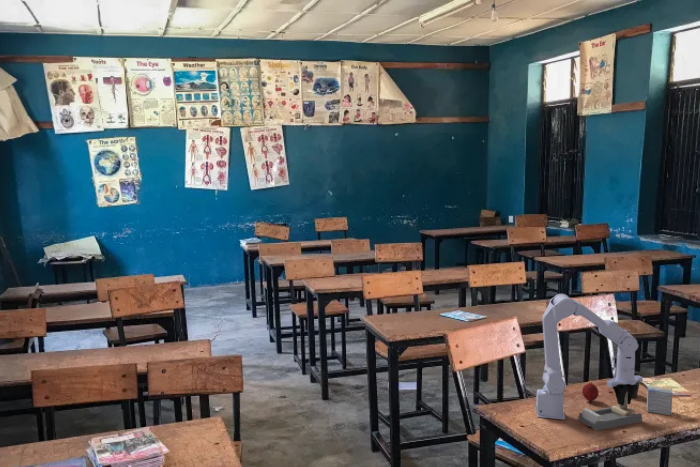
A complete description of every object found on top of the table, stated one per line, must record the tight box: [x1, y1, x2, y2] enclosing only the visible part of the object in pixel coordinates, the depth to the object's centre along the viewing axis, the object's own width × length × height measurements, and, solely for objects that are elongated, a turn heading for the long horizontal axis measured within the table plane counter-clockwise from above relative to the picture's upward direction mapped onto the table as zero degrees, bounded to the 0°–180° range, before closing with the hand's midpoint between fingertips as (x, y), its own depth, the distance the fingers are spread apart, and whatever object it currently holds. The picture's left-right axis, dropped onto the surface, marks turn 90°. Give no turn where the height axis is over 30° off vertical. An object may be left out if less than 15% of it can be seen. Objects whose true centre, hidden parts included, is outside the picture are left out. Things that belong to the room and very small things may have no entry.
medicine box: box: [646, 385, 674, 416], centre depth 208 cm, size 8×4×9 cm, turn 65°
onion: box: [581, 380, 599, 402], centre depth 218 cm, size 6×6×8 cm
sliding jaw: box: [611, 392, 637, 417], centre depth 203 cm, size 5×6×8 cm
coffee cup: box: [632, 370, 643, 399], centre depth 224 cm, size 8×8×10 cm
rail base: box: [578, 406, 643, 431], centre depth 201 cm, size 20×9×4 cm, turn 110°
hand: (623, 403), depth 203 cm, fingers closed on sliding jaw, 2 cm apart
